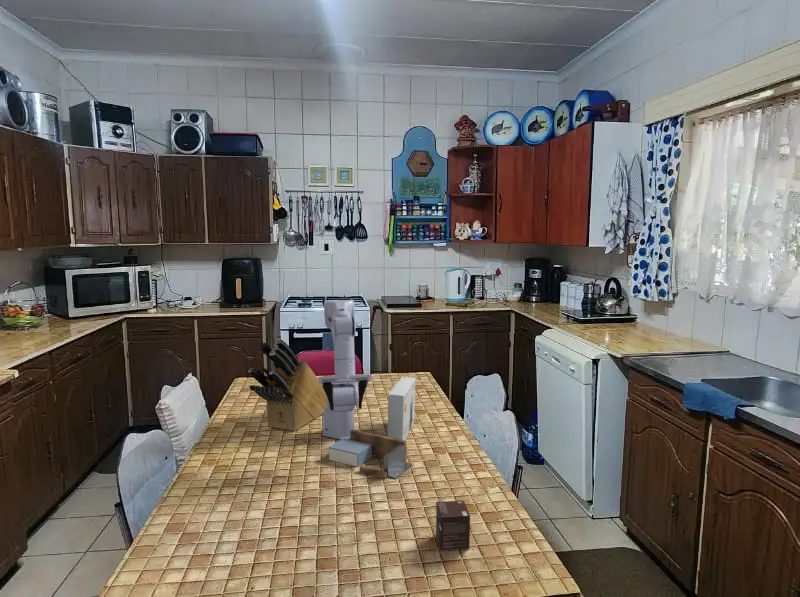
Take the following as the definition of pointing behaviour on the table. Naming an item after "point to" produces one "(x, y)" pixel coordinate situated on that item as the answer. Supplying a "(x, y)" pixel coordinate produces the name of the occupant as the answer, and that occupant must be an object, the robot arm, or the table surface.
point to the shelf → (377, 448)
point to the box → (452, 525)
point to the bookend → (395, 462)
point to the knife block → (288, 389)
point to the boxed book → (350, 452)
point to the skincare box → (401, 408)
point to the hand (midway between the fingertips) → (346, 409)
